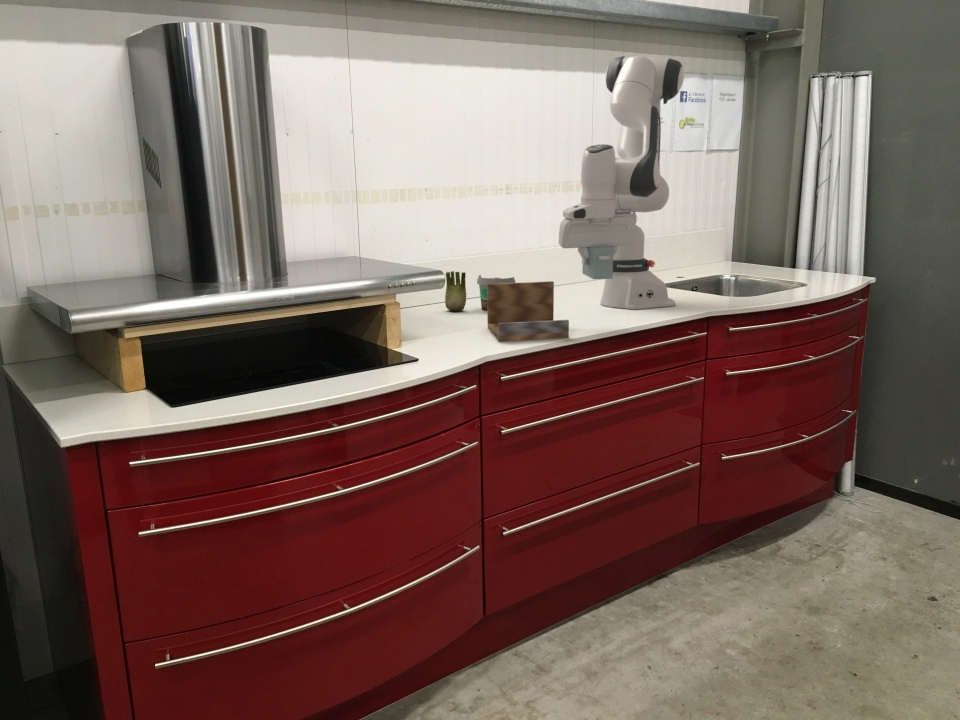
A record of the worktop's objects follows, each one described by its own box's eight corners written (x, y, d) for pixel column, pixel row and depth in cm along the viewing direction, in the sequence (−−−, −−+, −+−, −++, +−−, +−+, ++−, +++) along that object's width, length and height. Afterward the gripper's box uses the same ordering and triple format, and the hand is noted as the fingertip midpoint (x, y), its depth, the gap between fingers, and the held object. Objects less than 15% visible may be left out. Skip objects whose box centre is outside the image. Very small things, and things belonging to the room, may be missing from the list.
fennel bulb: (468, 310, 238) (467, 270, 235) (459, 313, 234) (458, 272, 231) (451, 308, 241) (450, 269, 238) (442, 311, 237) (441, 271, 234)
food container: (469, 310, 237) (469, 277, 235) (479, 307, 243) (479, 274, 240) (506, 314, 232) (506, 280, 229) (515, 310, 237) (515, 277, 235)
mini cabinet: (600, 272, 213) (600, 242, 211) (613, 279, 203) (614, 247, 200) (582, 273, 212) (582, 243, 210) (595, 280, 202) (595, 248, 200)
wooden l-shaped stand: (552, 324, 216) (552, 281, 213) (568, 337, 201) (569, 291, 198) (487, 328, 213) (487, 284, 210) (499, 341, 198) (498, 294, 195)
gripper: (632, 207, 208) (631, 260, 212) (556, 210, 205) (556, 264, 209) (641, 209, 202) (639, 263, 206) (563, 212, 199) (563, 267, 203)
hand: (597, 263), depth 207 cm, fingers closed on mini cabinet, 5 cm apart
